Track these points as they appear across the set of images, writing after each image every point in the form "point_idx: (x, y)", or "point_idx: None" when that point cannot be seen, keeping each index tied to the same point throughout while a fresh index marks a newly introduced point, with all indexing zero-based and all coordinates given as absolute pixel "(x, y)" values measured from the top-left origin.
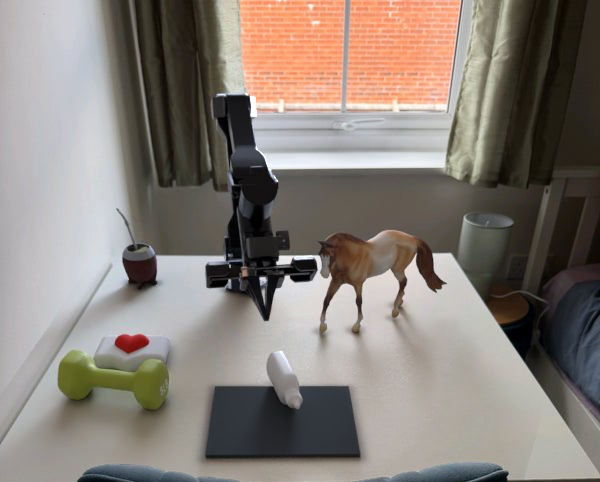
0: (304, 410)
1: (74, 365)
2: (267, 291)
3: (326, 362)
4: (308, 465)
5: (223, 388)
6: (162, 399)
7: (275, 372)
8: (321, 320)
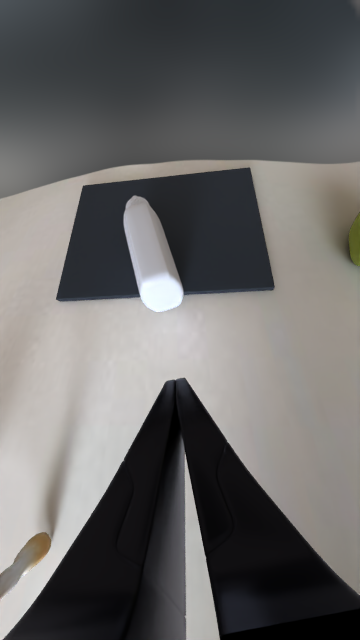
0: None
1: None
2: (143, 527)
3: (72, 381)
4: (138, 176)
5: (258, 281)
6: (353, 228)
7: (162, 233)
8: (15, 569)
